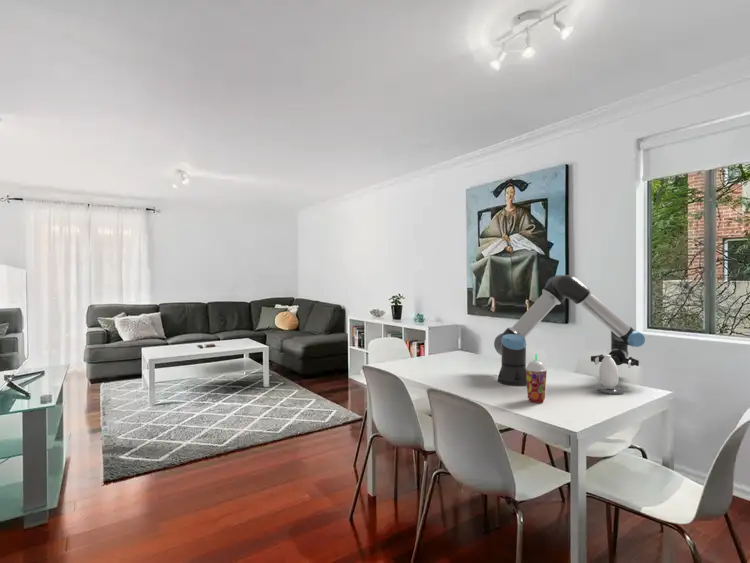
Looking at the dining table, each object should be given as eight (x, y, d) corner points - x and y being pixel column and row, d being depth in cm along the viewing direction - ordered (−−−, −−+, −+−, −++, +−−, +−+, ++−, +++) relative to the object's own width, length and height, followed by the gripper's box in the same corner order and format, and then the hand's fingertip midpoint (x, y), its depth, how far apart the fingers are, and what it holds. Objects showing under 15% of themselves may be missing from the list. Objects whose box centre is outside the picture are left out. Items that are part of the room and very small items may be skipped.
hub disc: (620, 395, 189) (620, 393, 189) (593, 391, 197) (593, 388, 197) (627, 391, 197) (627, 388, 197) (601, 387, 204) (601, 384, 204)
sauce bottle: (623, 389, 195) (621, 349, 195) (611, 391, 192) (609, 351, 192) (607, 385, 202) (605, 347, 202) (596, 388, 199) (594, 349, 199)
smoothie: (537, 397, 186) (537, 352, 186) (551, 403, 178) (551, 355, 178) (521, 399, 183) (521, 353, 183) (534, 404, 175) (534, 356, 175)
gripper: (646, 367, 209) (643, 374, 192) (590, 361, 223) (582, 368, 206) (646, 351, 209) (643, 358, 192) (589, 347, 223) (582, 352, 206)
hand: (612, 363), depth 199 cm, fingers open, 13 cm apart
